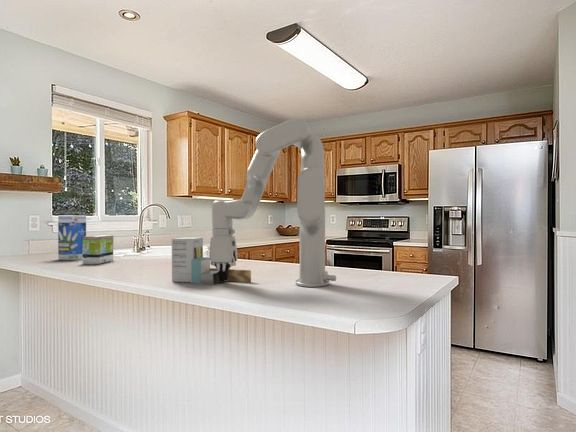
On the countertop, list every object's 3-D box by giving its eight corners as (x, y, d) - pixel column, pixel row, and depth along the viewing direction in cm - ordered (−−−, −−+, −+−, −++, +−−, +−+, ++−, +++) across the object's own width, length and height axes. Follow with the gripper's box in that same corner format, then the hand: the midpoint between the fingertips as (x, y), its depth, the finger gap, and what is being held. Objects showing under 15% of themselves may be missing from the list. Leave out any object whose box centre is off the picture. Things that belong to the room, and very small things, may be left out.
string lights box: (57, 259, 222) (57, 215, 222) (67, 258, 230) (66, 215, 230) (78, 260, 220) (77, 215, 220) (87, 258, 228) (86, 215, 228)
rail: (250, 281, 147) (250, 270, 147) (249, 282, 146) (249, 270, 146) (210, 278, 154) (210, 267, 154) (208, 279, 153) (208, 268, 153)
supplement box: (193, 282, 146) (192, 238, 146) (171, 282, 148) (170, 238, 148) (203, 278, 155) (203, 237, 155) (183, 277, 157) (182, 236, 157)
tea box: (100, 264, 202) (100, 236, 202) (81, 264, 202) (81, 236, 202) (114, 260, 217) (113, 234, 217) (96, 260, 217) (96, 234, 217)
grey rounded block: (221, 280, 150) (221, 270, 150) (213, 284, 142) (213, 273, 142) (209, 280, 151) (209, 270, 151) (200, 284, 143) (200, 273, 143)
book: (210, 280, 152) (209, 257, 151) (201, 283, 144) (201, 260, 144) (200, 279, 152) (200, 257, 152) (191, 283, 145) (191, 259, 144)
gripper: (244, 232, 146) (245, 280, 146) (211, 232, 152) (212, 278, 152) (234, 233, 139) (235, 284, 139) (200, 233, 145) (201, 281, 145)
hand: (223, 280), depth 145 cm, fingers closed
